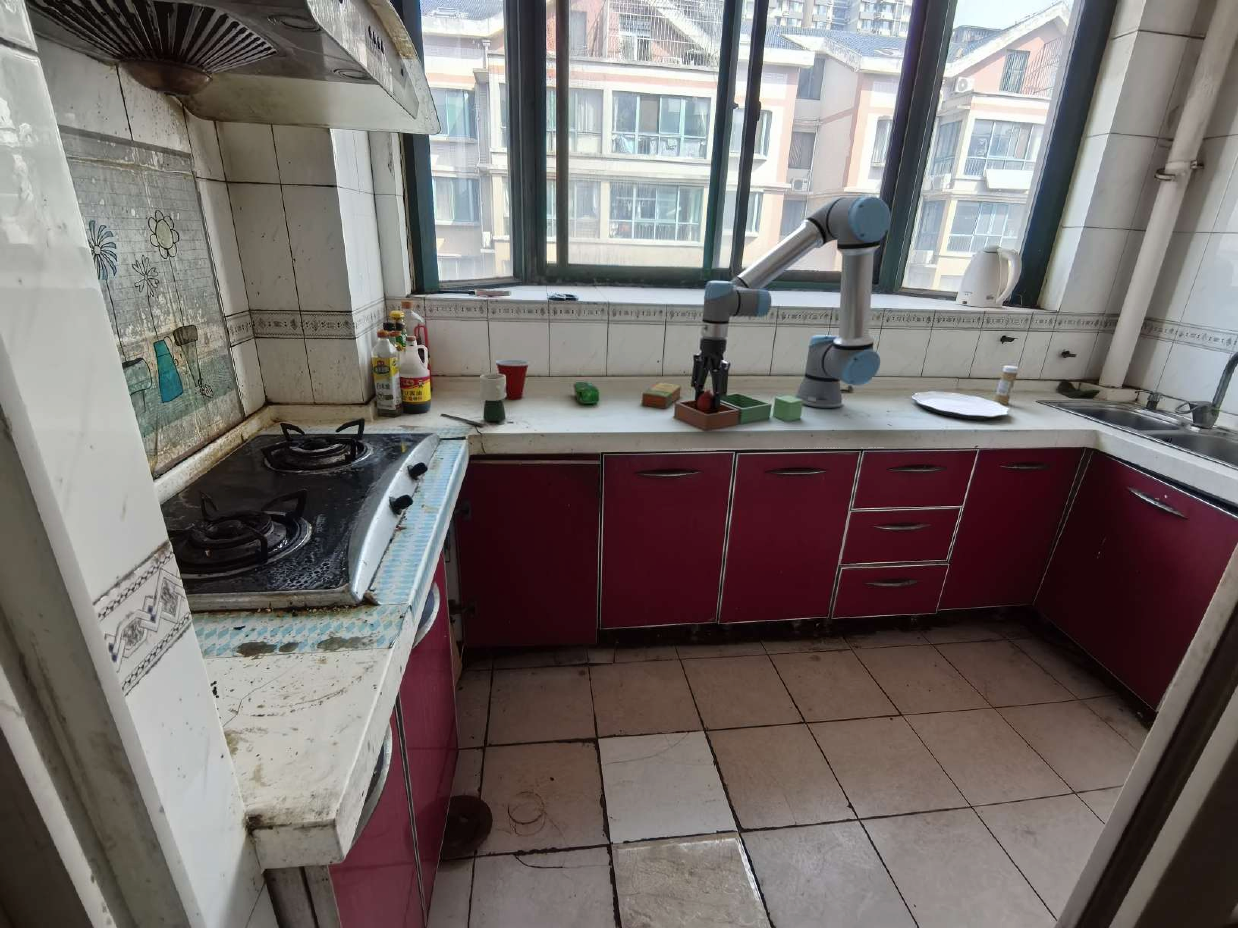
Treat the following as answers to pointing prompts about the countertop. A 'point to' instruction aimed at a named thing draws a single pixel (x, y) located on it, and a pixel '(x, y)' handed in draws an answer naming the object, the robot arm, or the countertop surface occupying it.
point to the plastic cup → (513, 376)
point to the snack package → (586, 392)
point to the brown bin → (704, 421)
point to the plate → (960, 405)
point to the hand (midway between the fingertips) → (705, 414)
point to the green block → (787, 408)
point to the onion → (704, 402)
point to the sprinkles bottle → (1006, 384)
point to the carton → (661, 395)
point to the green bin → (747, 407)
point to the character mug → (493, 396)
